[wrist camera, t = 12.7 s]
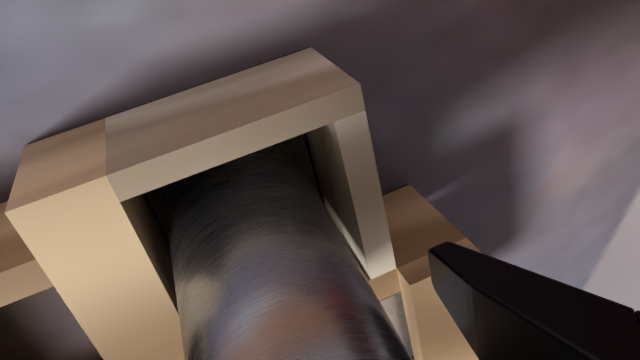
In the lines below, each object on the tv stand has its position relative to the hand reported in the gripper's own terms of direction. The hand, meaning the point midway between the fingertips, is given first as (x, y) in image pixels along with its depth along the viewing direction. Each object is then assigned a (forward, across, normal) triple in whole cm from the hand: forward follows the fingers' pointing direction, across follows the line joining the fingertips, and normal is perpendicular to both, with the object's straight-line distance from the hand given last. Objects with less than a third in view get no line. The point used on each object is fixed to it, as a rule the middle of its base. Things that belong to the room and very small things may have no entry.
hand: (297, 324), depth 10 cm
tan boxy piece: (+6, 0, 0) cm, 6 cm away
